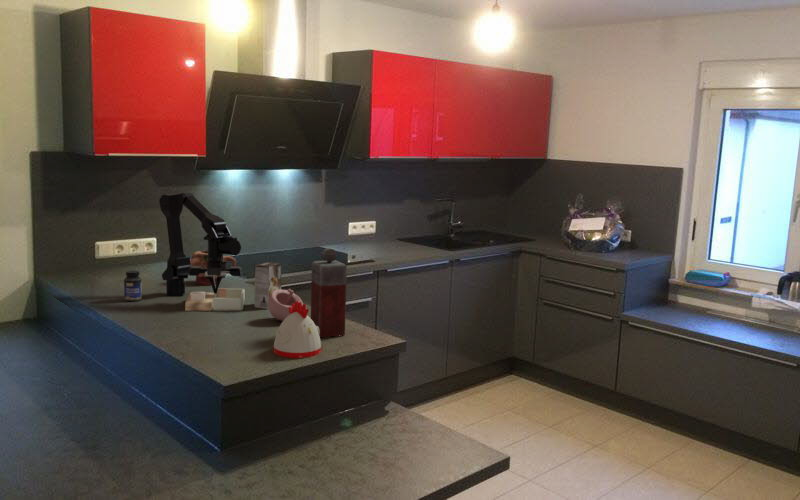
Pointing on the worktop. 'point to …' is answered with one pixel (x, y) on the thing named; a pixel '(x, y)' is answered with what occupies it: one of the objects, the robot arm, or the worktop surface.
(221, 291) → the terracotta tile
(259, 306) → the coffee box
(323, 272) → the red square decanter
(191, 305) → the oak board
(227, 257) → the decorative planter
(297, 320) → the kitchen timer
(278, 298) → the mortar and pestle
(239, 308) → the tray
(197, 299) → the offwhite tile
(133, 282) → the pill bottle
